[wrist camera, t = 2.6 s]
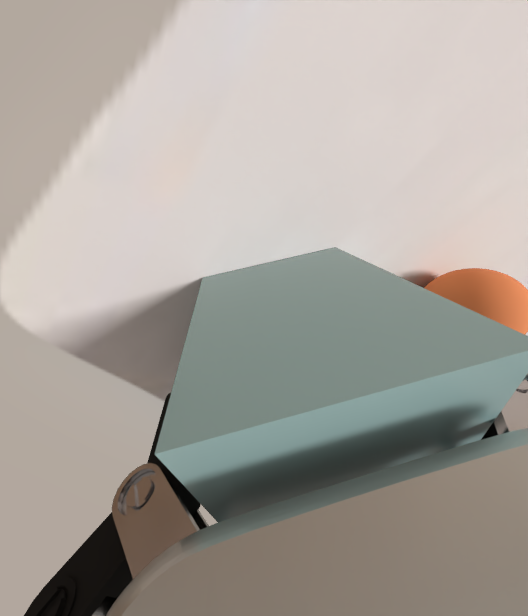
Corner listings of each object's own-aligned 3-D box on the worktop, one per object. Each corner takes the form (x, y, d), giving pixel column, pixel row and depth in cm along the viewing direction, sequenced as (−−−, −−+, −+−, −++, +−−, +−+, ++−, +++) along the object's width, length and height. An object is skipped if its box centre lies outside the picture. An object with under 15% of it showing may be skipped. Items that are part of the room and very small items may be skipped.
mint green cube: (335, 247, 12) (547, 345, 4) (335, 347, 15) (442, 494, 8) (202, 277, 11) (154, 454, 4) (236, 373, 15) (248, 555, 7)
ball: (474, 250, 13) (594, 276, 9) (452, 313, 16) (537, 358, 11) (403, 267, 13) (492, 303, 9) (392, 329, 16) (457, 380, 11)
